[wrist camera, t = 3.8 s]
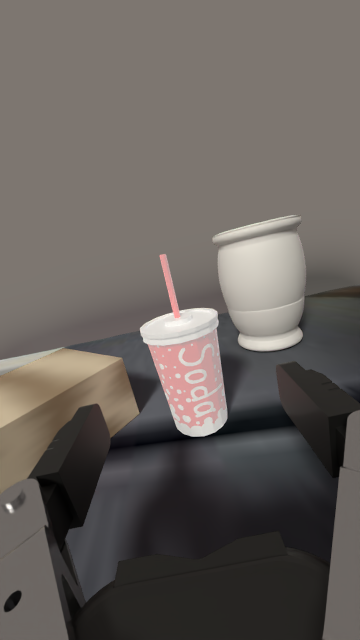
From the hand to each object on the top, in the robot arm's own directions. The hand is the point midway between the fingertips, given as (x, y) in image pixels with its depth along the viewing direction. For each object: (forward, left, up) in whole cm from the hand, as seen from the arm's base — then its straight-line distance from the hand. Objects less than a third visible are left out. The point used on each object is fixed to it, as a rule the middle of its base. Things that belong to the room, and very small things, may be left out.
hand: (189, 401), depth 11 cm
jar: (-24, -6, -8) cm, 26 cm away
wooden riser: (+1, -18, -8) cm, 19 cm away
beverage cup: (-7, -6, -8) cm, 12 cm away
